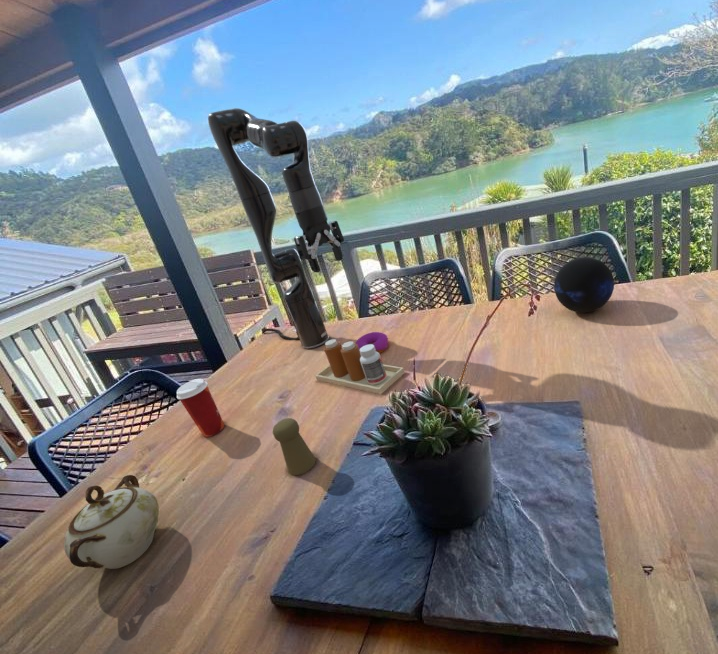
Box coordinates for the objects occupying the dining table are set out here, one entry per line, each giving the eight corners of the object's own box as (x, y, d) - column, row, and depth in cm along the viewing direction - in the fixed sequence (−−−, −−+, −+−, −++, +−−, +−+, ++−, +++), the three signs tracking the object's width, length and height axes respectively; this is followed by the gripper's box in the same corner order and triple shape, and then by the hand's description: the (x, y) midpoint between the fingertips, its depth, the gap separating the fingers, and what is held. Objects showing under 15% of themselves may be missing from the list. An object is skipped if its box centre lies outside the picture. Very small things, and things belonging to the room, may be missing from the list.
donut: (356, 361, 129) (351, 348, 127) (359, 346, 139) (355, 334, 137) (390, 353, 128) (385, 340, 127) (390, 339, 138) (386, 326, 136)
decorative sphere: (575, 296, 131) (570, 248, 125) (626, 302, 119) (623, 249, 113) (546, 317, 123) (539, 267, 117) (597, 326, 111) (592, 271, 106)
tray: (317, 381, 124) (314, 375, 124) (341, 363, 131) (339, 357, 130) (381, 395, 108) (379, 389, 107) (405, 374, 115) (403, 367, 114)
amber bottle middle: (347, 379, 119) (335, 347, 115) (358, 370, 123) (347, 339, 119) (359, 382, 116) (347, 349, 112) (370, 372, 120) (360, 340, 116)
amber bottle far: (330, 376, 124) (318, 345, 120) (342, 367, 127) (331, 337, 123) (341, 378, 121) (330, 346, 117) (353, 369, 124) (342, 338, 120)
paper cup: (234, 420, 117) (211, 376, 111) (216, 439, 110) (191, 393, 105) (211, 421, 119) (188, 378, 114) (192, 440, 113) (167, 395, 107)
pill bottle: (390, 378, 114) (380, 345, 110) (373, 387, 112) (362, 355, 108) (380, 372, 118) (370, 340, 115) (364, 381, 116) (353, 349, 112)
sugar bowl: (120, 517, 91) (82, 463, 85) (188, 499, 91) (154, 443, 85) (60, 609, 73) (5, 548, 67) (144, 586, 73) (96, 523, 67)
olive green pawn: (286, 462, 94) (267, 421, 89) (313, 450, 95) (295, 410, 91) (289, 479, 88) (269, 437, 84) (317, 466, 90) (299, 424, 85)
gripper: (319, 200, 118) (337, 257, 125) (278, 216, 109) (300, 276, 115) (337, 197, 114) (355, 256, 120) (296, 213, 104) (318, 276, 111)
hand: (328, 265), depth 118 cm, fingers open, 8 cm apart
